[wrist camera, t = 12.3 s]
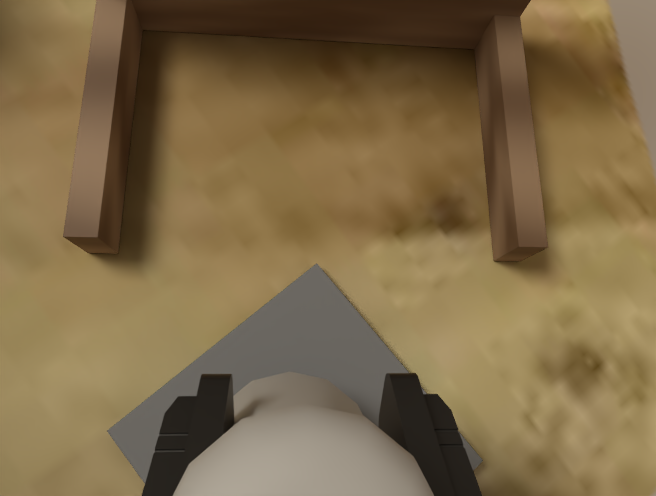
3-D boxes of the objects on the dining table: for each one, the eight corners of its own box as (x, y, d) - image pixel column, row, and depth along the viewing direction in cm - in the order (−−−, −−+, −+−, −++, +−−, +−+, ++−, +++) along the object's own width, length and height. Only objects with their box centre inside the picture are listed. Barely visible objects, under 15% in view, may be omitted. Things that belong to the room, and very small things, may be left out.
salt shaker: (391, 490, 18) (630, 712, 6) (249, 574, 17) (178, 1068, 5) (321, 347, 20) (400, 282, 7) (183, 417, 18) (-11, 484, 6)
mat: (279, 660, 17) (278, 670, 17) (112, 429, 19) (106, 430, 18) (477, 458, 20) (483, 460, 19) (315, 266, 21) (316, 263, 20)
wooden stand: (519, 261, 22) (675, 183, 13) (87, 252, 20) (-56, 158, 12) (495, 30, 25) (609, -156, 16) (119, 6, 23) (24, -214, 15)
